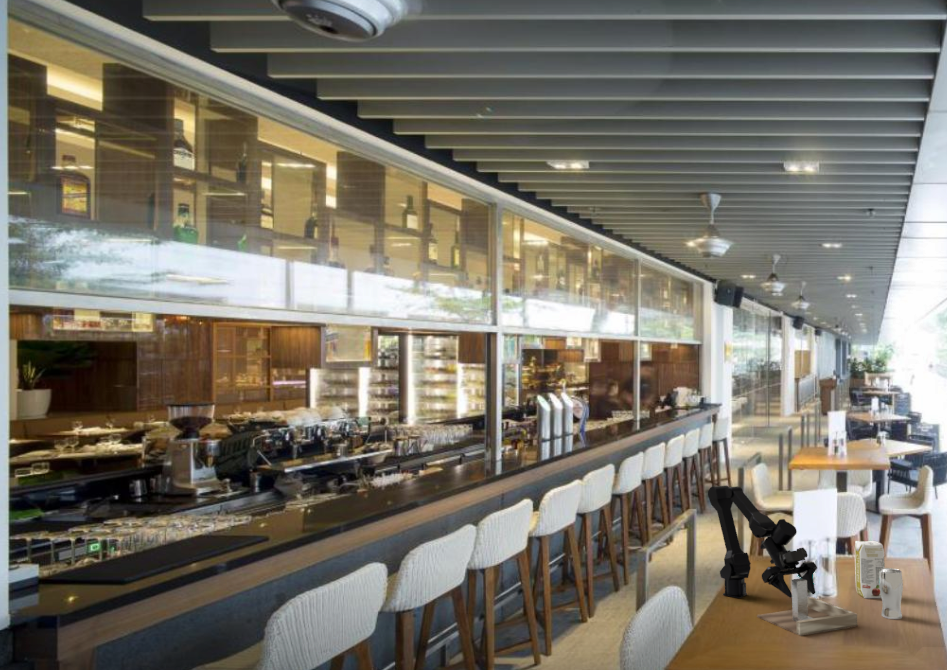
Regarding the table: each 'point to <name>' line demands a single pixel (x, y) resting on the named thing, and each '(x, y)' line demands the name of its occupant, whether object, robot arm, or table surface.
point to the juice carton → (868, 568)
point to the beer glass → (891, 592)
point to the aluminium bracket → (799, 600)
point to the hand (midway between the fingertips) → (802, 595)
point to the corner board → (823, 614)
